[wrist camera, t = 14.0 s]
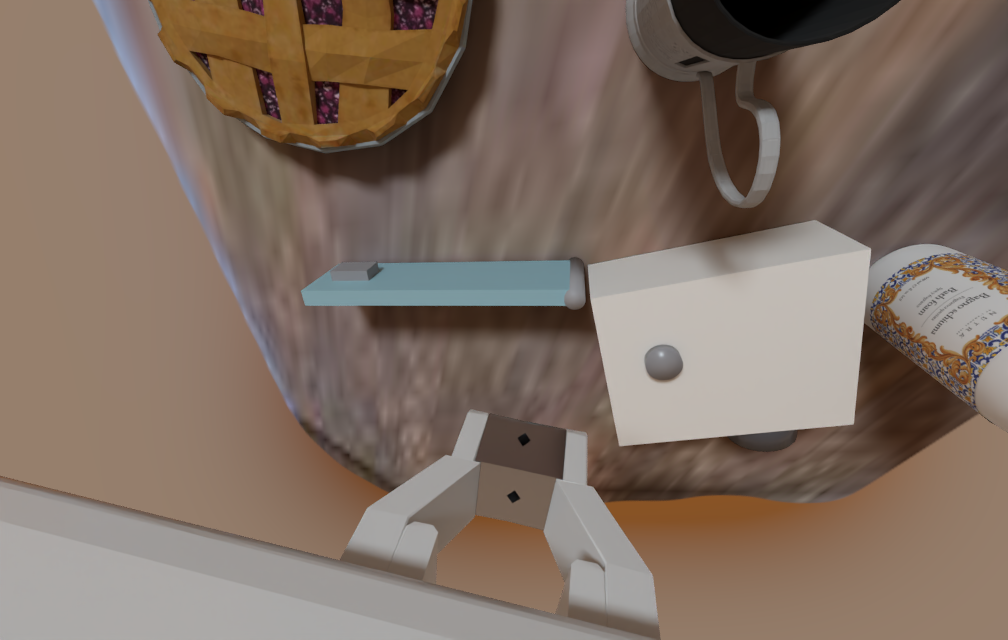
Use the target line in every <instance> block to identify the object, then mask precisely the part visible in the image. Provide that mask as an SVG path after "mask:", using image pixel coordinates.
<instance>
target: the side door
mask: <svg viewBox="0 0 1008 640" xmlns="http://www.w3.org/2000/svg"><path fill="white" fill-rule="evenodd" d="M301 293H302V296H303V299H304V302H305V306H567V307H568V308H570V309H573V310H577V309H580V308H582V307H583V306H584V304H585V301H586V299H585V280H584V264H583V261H582V260H581V259H579V258H576V257H574V258H571V259H569V260H563V261H498V262H434V263H377V262H342V263H341V264H338V265H337V266H335V267H334V268H332V269H331V270H330V271H328V272H327V273H325V274H324V275H323V276H321V277H320V278H318V279H317V280H316V281H314V282H313V283H311V284H310V285H308V286H307V287H306V288H304V289H303V290H301Z"/></svg>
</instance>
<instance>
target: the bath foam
mask: <svg viewBox="0 0 1008 640" xmlns="http://www.w3.org/2000/svg"><path fill="white" fill-rule="evenodd" d="M864 323H865V324H866V325H867V326H869V327H870V328H871V329H872V330H874V331H875V332H876V333H878V334H879V335H880V336H881V337H882V338H884V339H885V340H886V341H887V342H889V343H890V344H891V345H892V346H894V347H895V348H896V349H898V350H899V351H900V352H901V353H903V354H904V355H905V356H907V357H908V358H909V359H910V360H912V361H913V362H914V363H915V364H917V365H918V366H919V367H921V368H922V369H923V370H924V371H926V372H927V373H928V374H929V375H931V376H932V377H933V378H935V379H936V380H937V381H938V382H940V383H941V384H942V385H944V386H945V387H946V388H947V389H949V390H950V391H951V392H952V393H954V394H955V395H956V396H958V397H959V398H960V399H961V400H963V401H964V402H965V403H967V404H968V405H969V406H970V407H972V408H973V409H974V410H975V411H977V412H978V413H979V414H981V415H982V416H983V417H984V418H986V419H987V420H988V421H990V422H991V423H993V424H994V425H996V426H998V427H1000V428H1001V429H1003V430H1004V431H1006V432H1008V271H1006V270H1004V269H1001V268H999V267H996V266H994V265H992V264H989V263H987V262H984V261H982V260H979V259H977V258H974V257H972V256H968V255H966V254H963V253H961V252H958V251H956V250H953V249H951V248H948V247H945V246H941V245H934V244H920V245H913V246H908V247H905V248H901V249H899V250H896V251H894V252H892V253H889V254H888V255H886V256H884V257H882V258H881V259H879V260H878V261H877V262H875V263H874V264H873V265H872V266H871V267H870V268H869V275H868V285H867V295H866V305H865V315H864Z"/></svg>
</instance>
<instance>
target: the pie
mask: <svg viewBox="0 0 1008 640" xmlns="http://www.w3.org/2000/svg"><path fill="white" fill-rule="evenodd" d="M472 1H473V0H148V2H149V4H150V7H151V9H152V12H153V14H154V16H155V19H156V21H157V24H158V26H159V29H160V32H159V33H158V36H159V38H160V40H161V41H162V43H163V45H164V46H165V48H166V50H167V51H168V53H169V55H170V56H171V58H172V60H173V61H174V62H175V63H176V64H178V65H180V66H182V67H183V68H185V69H187V70H188V71H189V73H190V74H191V75H192V77H193V78H194V80H195V81H196V82H197V84H198V85H199V86H200V88H201V89H202V90H203V92H204V93H205V94H206V97H207V99H208V100H209V101H210V102H211V103H212V104H213V105H214V106H215V107H216V108H217V109H218V110H219V111H220V112H222V113H223V114H224V115H227V116H231V117H235V118H237V119H238V120H240V121H241V122H243V123H244V124H246V125H247V126H248V127H250V128H251V129H253V130H254V131H256V132H257V133H259V134H260V135H262V136H263V137H265V138H266V139H270V140H274V141H277V142H280V143H286V144H290V145H294V146H298V147H302V148H306V149H310V150H314V151H318V152H322V153H332V152H339V151H347V150H354V149H361V148H368V147H376V146H383V145H384V144H386V143H387V142H389V141H390V140H391V139H393V138H394V137H396V136H397V135H399V134H400V133H402V132H403V131H405V130H406V129H408V128H409V127H411V126H412V125H414V124H415V123H417V122H418V121H419V120H421V119H422V118H424V117H425V116H427V115H428V114H430V113H431V112H432V111H433V109H434V107H435V106H436V104H437V102H438V100H439V98H440V96H441V94H442V92H443V90H444V88H445V86H446V85H447V83H448V81H449V79H450V77H451V75H452V73H453V71H454V69H455V67H456V66H457V64H458V62H459V60H460V58H461V56H462V54H463V52H464V50H465V48H466V42H467V35H468V28H469V22H470V15H471V8H472Z"/></svg>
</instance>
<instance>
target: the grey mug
mask: <svg viewBox="0 0 1008 640" xmlns="http://www.w3.org/2000/svg"><path fill="white" fill-rule="evenodd" d="M899 1H900V0H626V24H627V29H628V34H629V38H630V40H631V43H632V45H633V48H634V50H635V51H636V53H637V55H638V56H639V58H640V59H641V60H642V61H643V63H644V64H645V65H646V66H647V67H648V68H649V69H651V70H652V71H654V72H655V73H657V74H658V75H660V76H662V77H665V78H667V79H670V80H675V81H681V82H693V81H700V88H701V97H702V108H703V121H704V130H705V139H706V148H707V155H708V161H709V165H710V168H711V172H712V175H713V178H714V181H715V183H716V186H717V188H718V190H719V191H720V193H721V195H722V196H723V198H724V199H725V200H726V201H727V202H728V203H730V204H731V205H732V206H735V207H739V208H753V207H755V206H757V205H758V204H760V203H761V202H763V200H764V199H765V197H766V195H767V194H768V192H769V190H770V188H771V185H772V182H773V179H774V176H775V173H776V169H777V164H778V159H779V152H780V126H779V120H778V117H777V113H776V110H775V109H774V107H773V106H772V105H771V103H769V102H767V101H765V100H762V99H756V98H755V97H754V94H753V81H754V73H755V66H756V61H760V60H765V59H768V58H771V57H774V56H776V55H779V54H782V53H784V52H786V51H788V50H790V49H794V48H799V47H803V46H808V45H812V44H817V43H822V42H826V41H830V40H832V39H835V38H838V37H840V36H843V35H846V34H848V33H851V32H853V31H855V30H857V29H859V28H860V27H862V26H864V25H866V24H868V23H870V22H871V21H873V20H875V19H876V18H878V17H879V16H880V15H882V14H883V13H885V12H886V11H887V10H889V9H890V8H891V7H893V6H894V5H896V4H897V3H898V2H899ZM734 65H738V69H737V76H736V89H735V95H736V102H737V104H738V106H739V107H741V108H744V109H748V110H749V111H751V112H752V113H753V115H754V117H755V118H756V121H757V125H758V129H759V140H760V148H759V160H758V165H757V170H756V174H755V178H754V181H753V184H752V187H751V189H750V191H749V193H748V195H747V197H746V198H745V197H744V196H743V195H742V194H741V193H739V192H738V191H737V189H736V188H735V186H734V184H733V183H732V181H731V179H730V177H729V174H728V171H727V169H726V166H725V162H724V159H723V155H722V150H721V144H720V137H719V129H718V121H717V109H716V99H715V90H714V82H713V76H715V75H718V74H720V73H722V72H724V71H725V70H727V69H729V68H731V67H732V66H734Z"/></svg>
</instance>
